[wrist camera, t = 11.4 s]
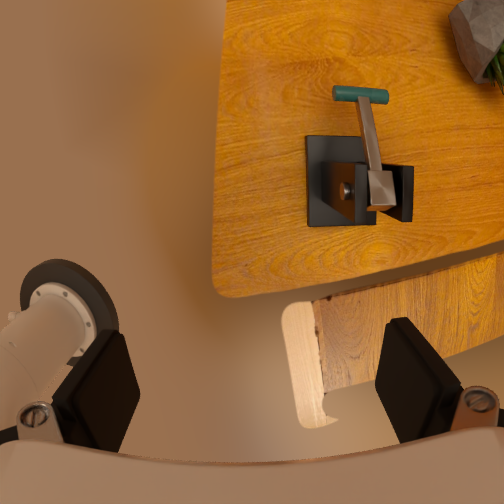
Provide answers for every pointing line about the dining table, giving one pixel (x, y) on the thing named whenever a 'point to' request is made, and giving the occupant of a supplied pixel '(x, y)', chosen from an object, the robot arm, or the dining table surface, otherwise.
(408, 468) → the robot arm
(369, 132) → the lever
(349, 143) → the bracket
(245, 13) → the dining table surface
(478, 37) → the potted plant
